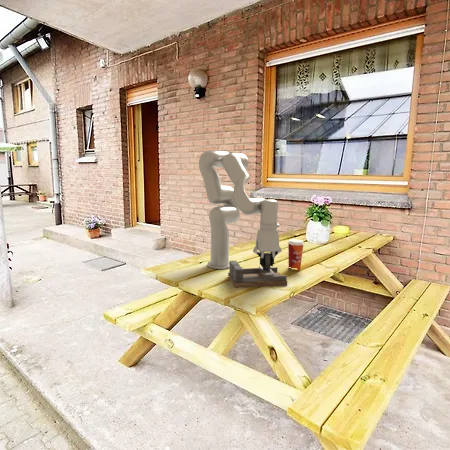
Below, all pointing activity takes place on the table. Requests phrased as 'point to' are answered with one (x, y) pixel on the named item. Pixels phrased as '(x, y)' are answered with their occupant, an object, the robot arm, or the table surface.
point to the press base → (254, 277)
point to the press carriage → (266, 266)
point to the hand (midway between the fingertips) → (266, 265)
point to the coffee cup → (295, 253)
